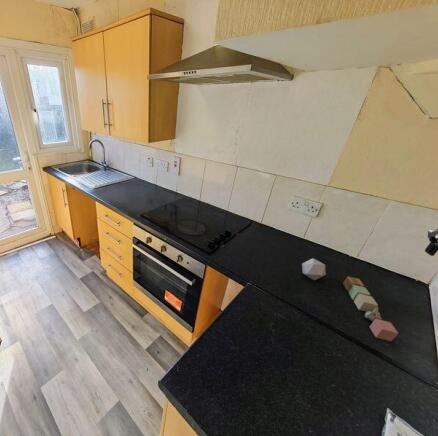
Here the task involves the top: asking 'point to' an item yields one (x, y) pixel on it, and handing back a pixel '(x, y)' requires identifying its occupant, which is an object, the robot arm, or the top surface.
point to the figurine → (373, 315)
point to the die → (313, 269)
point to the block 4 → (383, 330)
